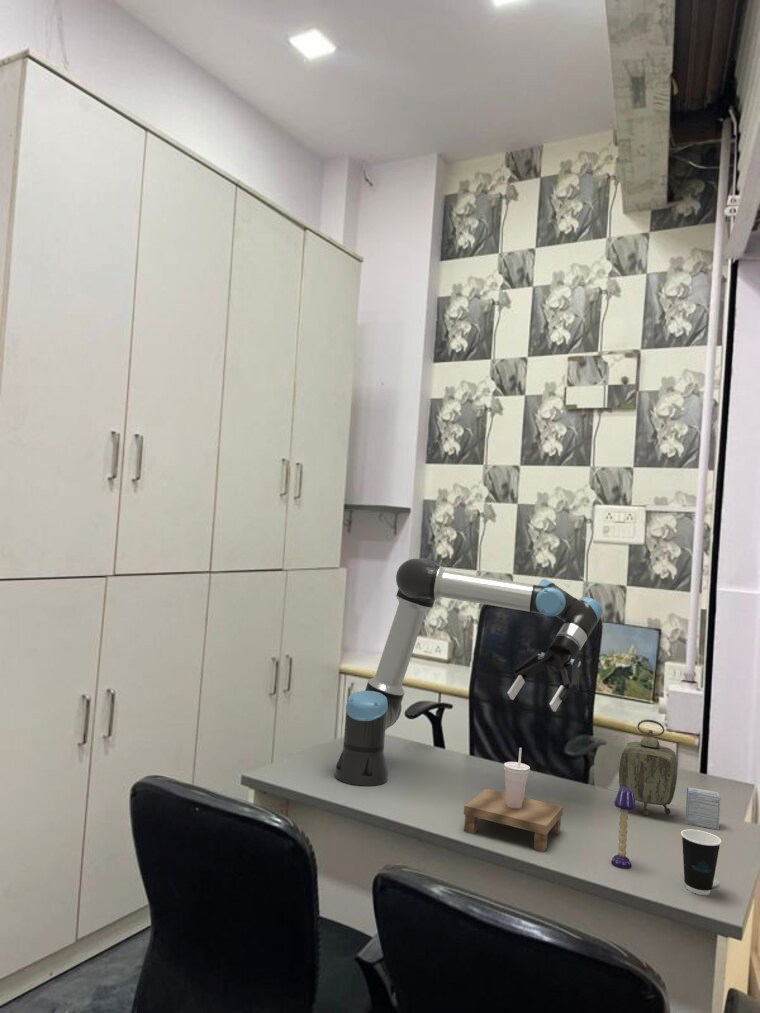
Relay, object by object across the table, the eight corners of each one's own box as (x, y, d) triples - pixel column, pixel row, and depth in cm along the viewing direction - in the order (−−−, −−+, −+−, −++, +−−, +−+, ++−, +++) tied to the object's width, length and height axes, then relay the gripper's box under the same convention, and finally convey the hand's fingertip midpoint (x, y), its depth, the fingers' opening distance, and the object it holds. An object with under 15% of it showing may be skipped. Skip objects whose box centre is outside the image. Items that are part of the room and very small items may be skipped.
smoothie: (527, 812, 177) (531, 753, 178) (500, 808, 179) (504, 749, 179) (527, 803, 184) (531, 746, 184) (501, 799, 185) (505, 742, 186)
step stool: (462, 830, 178) (464, 805, 179) (484, 812, 192) (485, 788, 193) (544, 852, 169) (546, 826, 169) (561, 831, 183) (563, 806, 184)
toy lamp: (607, 859, 168) (612, 784, 169) (627, 860, 169) (631, 785, 170) (615, 868, 164) (620, 791, 165) (636, 869, 164) (640, 792, 165)
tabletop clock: (675, 814, 203) (680, 721, 204) (673, 824, 195) (678, 728, 196) (619, 802, 209) (625, 712, 210) (615, 812, 201) (621, 718, 202)
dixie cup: (697, 900, 151) (700, 845, 152) (669, 882, 159) (672, 830, 159) (727, 896, 154) (730, 842, 155) (698, 879, 161) (701, 828, 162)
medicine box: (717, 825, 197) (719, 791, 198) (718, 830, 193) (720, 796, 193) (685, 819, 200) (687, 786, 200) (686, 824, 195) (688, 791, 196)
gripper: (612, 661, 199) (576, 722, 189) (535, 645, 218) (499, 700, 208) (603, 641, 196) (565, 703, 186) (526, 627, 215) (488, 682, 204)
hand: (530, 702), depth 197 cm, fingers open, 13 cm apart
